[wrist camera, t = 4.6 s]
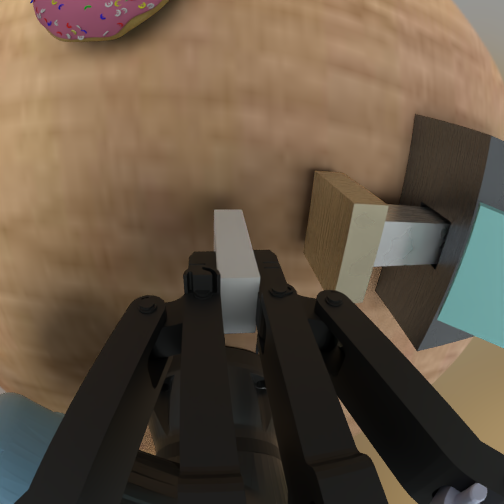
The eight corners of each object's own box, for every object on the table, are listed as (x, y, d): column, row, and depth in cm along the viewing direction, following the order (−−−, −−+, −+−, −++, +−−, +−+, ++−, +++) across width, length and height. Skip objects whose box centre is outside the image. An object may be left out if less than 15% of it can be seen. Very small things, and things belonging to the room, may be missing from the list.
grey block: (375, 290, 27) (416, 351, 20) (415, 114, 19) (491, 135, 12) (448, 283, 28) (491, 330, 21) (490, 139, 21) (554, 166, 14)
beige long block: (303, 252, 22) (331, 304, 17) (314, 170, 19) (354, 203, 14) (449, 250, 24) (489, 287, 19) (467, 189, 21) (515, 218, 16)
